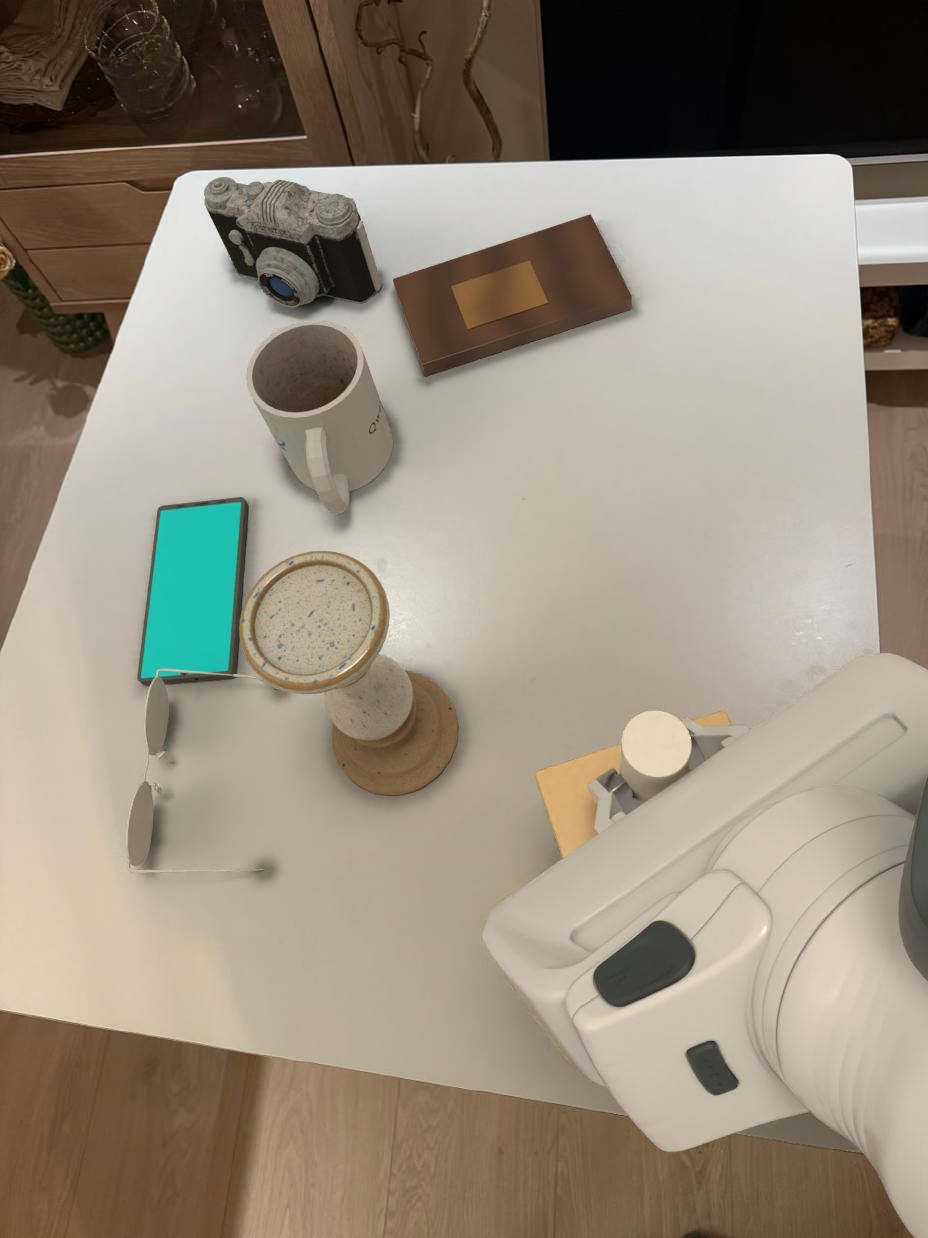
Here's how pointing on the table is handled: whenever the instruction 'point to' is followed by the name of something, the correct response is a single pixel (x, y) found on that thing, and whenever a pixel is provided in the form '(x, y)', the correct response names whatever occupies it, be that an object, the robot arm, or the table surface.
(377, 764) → the candle holder
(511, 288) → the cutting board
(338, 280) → the camera
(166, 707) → the sunglasses
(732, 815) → the robot arm
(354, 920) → the table surface
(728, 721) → the pillar on tan base
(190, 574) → the smartphone
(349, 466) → the mug
